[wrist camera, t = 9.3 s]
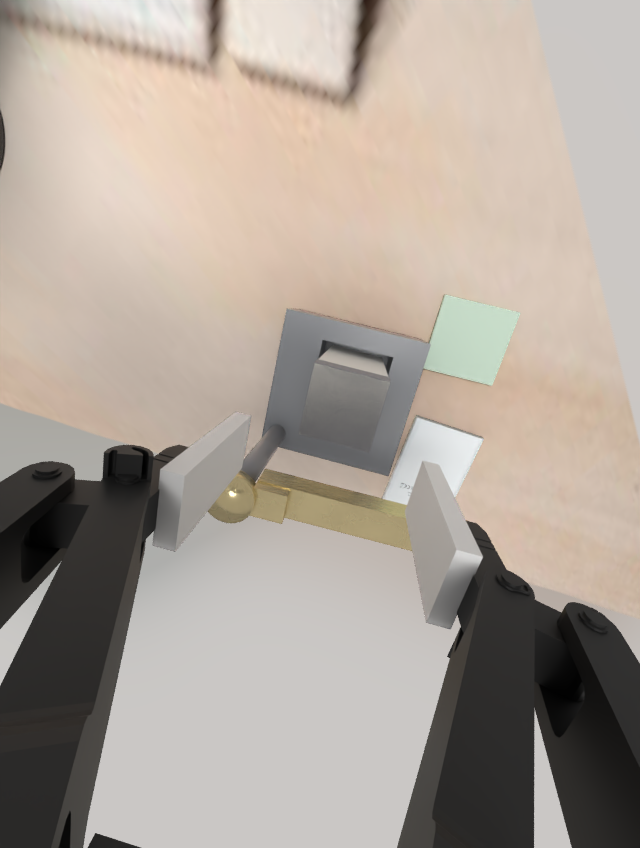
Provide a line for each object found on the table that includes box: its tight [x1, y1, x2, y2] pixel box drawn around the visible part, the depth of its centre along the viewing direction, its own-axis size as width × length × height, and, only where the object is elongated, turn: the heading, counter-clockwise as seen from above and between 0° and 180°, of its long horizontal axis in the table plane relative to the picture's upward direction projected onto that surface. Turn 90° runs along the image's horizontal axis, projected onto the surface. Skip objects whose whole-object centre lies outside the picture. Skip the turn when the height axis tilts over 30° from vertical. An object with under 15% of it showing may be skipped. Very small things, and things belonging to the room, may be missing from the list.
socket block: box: [241, 309, 431, 482], centre depth 34 cm, size 14×14×20 cm
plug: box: [298, 345, 391, 453], centre depth 34 cm, size 6×6×15 cm
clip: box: [208, 469, 467, 551], centre depth 26 cm, size 19×4×4 cm, turn 77°
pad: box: [423, 295, 520, 386], centre depth 40 cm, size 8×8×1 cm
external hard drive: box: [382, 415, 484, 505], centre depth 45 cm, size 2×8×12 cm
